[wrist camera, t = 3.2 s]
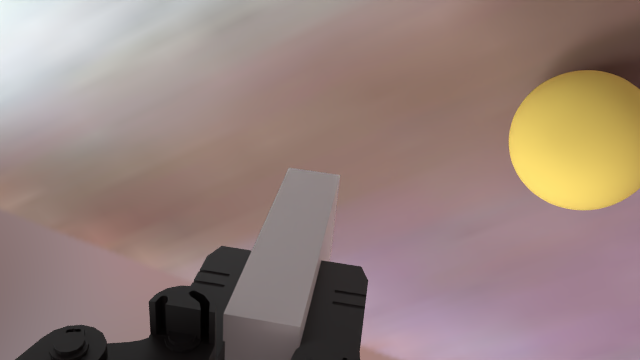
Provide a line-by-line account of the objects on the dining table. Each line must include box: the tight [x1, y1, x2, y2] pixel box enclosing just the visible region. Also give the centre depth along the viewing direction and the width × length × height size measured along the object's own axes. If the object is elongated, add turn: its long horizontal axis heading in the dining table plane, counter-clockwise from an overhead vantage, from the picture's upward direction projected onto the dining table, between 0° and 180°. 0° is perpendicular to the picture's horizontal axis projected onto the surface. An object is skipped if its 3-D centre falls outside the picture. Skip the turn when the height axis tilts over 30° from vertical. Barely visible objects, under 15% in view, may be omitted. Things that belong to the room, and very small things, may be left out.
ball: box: [509, 70, 640, 210], centre depth 23 cm, size 6×6×6 cm
